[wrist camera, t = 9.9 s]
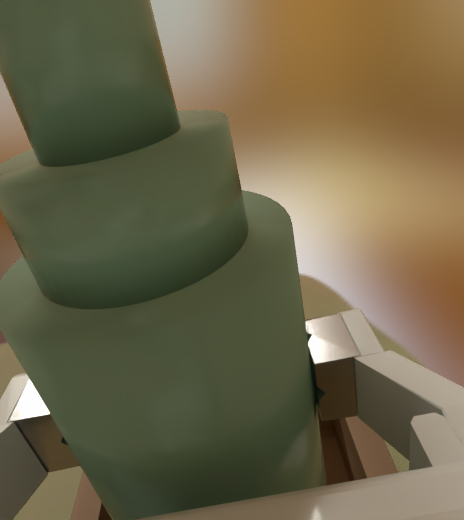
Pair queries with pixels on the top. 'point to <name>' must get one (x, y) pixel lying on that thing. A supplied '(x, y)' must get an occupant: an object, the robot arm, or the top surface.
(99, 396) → the bottle
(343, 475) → the u rest
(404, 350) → the top surface
